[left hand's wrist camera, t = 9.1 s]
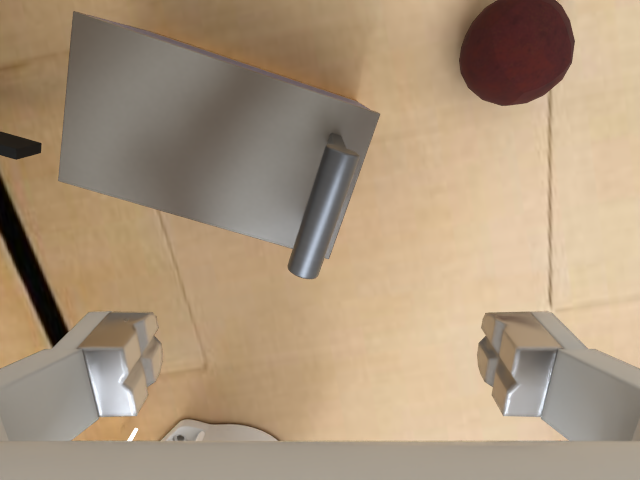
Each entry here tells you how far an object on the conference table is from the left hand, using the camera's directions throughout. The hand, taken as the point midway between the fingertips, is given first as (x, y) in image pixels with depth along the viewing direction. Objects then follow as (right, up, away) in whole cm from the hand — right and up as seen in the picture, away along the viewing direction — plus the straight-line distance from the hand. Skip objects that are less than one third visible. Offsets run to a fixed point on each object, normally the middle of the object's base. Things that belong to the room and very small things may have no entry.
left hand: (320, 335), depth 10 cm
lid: (-6, +8, +15) cm, 18 cm away
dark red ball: (+14, +17, +23) cm, 32 cm away
